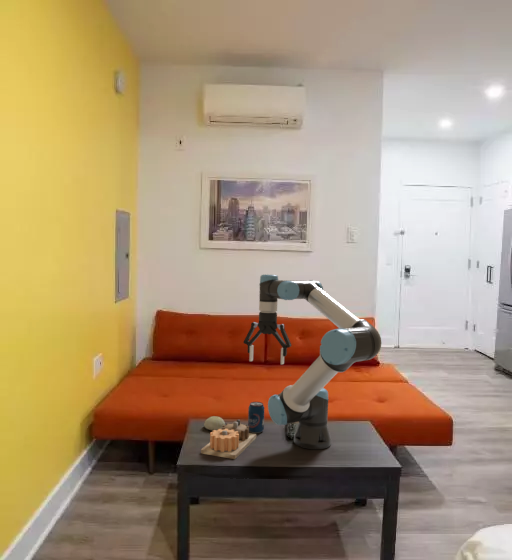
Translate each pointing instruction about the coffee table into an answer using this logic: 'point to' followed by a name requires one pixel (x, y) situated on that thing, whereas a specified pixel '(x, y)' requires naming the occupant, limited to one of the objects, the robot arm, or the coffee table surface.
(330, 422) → the coffee table surface
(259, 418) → the soda can
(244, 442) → the gear board
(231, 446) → the loose gear
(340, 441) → the coffee table surface
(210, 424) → the sea urchin shell
